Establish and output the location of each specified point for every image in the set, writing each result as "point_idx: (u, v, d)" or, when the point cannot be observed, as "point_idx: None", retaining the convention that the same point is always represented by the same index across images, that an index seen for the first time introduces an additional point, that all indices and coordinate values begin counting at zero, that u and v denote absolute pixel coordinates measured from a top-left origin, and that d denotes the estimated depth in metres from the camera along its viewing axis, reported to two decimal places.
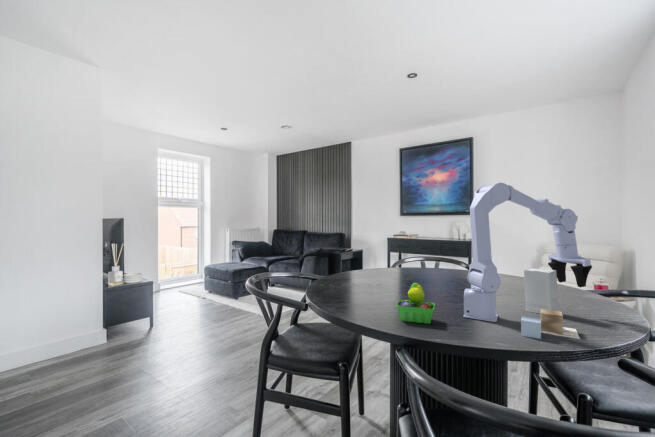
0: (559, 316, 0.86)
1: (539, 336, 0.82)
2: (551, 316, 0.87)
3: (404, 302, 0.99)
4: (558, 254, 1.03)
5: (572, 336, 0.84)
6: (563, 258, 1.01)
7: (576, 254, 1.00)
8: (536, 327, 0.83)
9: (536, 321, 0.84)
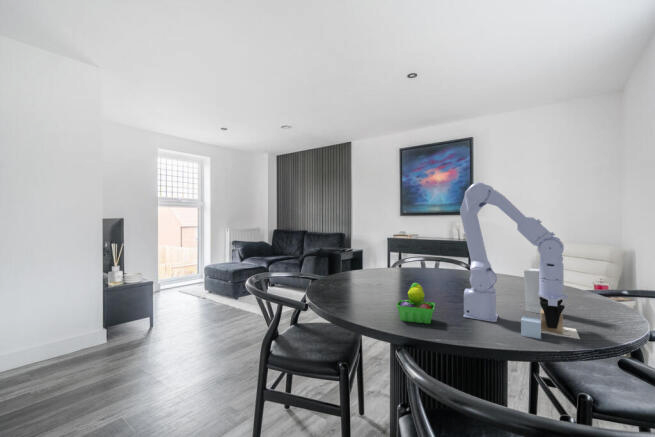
0: None
1: (539, 336, 0.82)
2: None
3: (404, 302, 0.99)
4: (539, 287, 0.91)
5: (572, 336, 0.84)
6: (540, 292, 0.90)
7: (555, 292, 0.87)
8: (536, 327, 0.83)
9: (536, 321, 0.84)
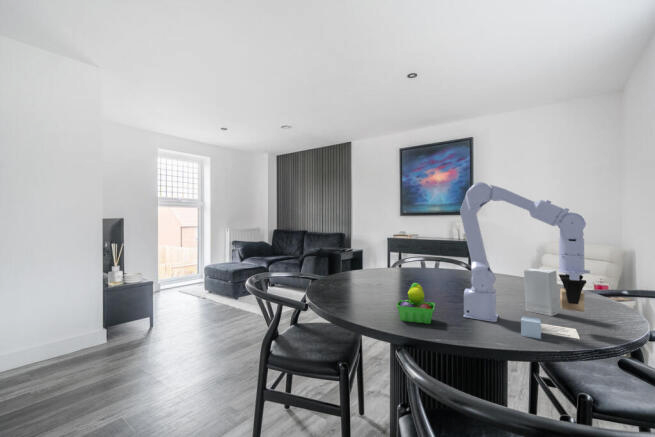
0: None
1: (539, 336, 0.82)
2: None
3: (404, 302, 0.99)
4: (559, 264, 0.90)
5: (572, 336, 0.84)
6: (560, 268, 0.89)
7: (576, 267, 0.86)
8: (536, 327, 0.83)
9: (536, 321, 0.84)
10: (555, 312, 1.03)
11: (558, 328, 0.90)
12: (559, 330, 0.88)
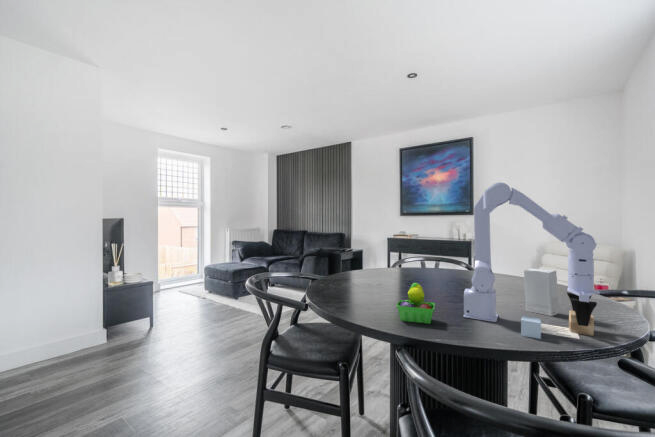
0: (590, 318, 0.85)
1: (539, 336, 0.82)
2: None
3: (404, 302, 0.99)
4: (568, 283, 0.90)
5: (572, 336, 0.84)
6: (569, 288, 0.88)
7: (585, 287, 0.85)
8: (536, 327, 0.83)
9: (536, 321, 0.84)
10: (555, 312, 1.03)
11: (558, 328, 0.90)
12: (559, 330, 0.88)
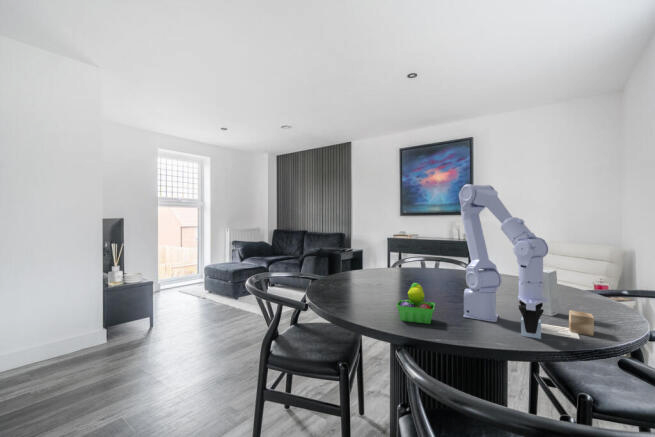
0: (590, 318, 0.85)
1: (539, 336, 0.82)
2: (581, 318, 0.86)
3: (404, 302, 0.99)
4: None
5: (572, 336, 0.84)
6: (519, 296, 0.86)
7: (534, 295, 0.83)
8: None
9: None
10: (555, 312, 1.03)
11: (558, 328, 0.90)
12: (559, 330, 0.88)
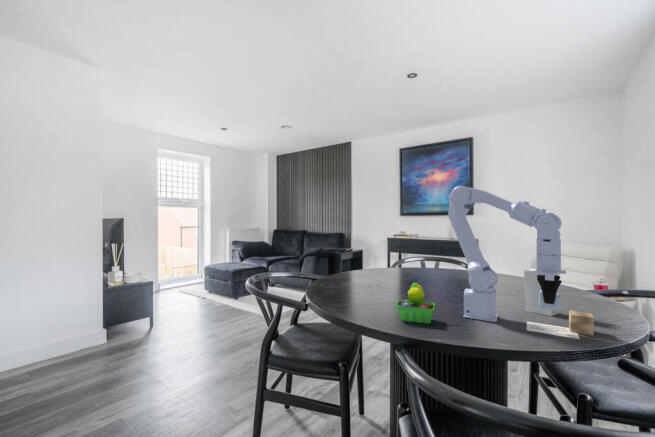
0: (590, 318, 0.85)
1: (558, 307, 0.86)
2: (581, 318, 0.86)
3: (404, 302, 0.99)
4: None
5: (572, 336, 0.84)
6: (537, 269, 0.89)
7: (552, 267, 0.86)
8: (555, 299, 0.86)
9: None
10: (555, 312, 1.03)
11: (558, 328, 0.90)
12: (559, 330, 0.88)
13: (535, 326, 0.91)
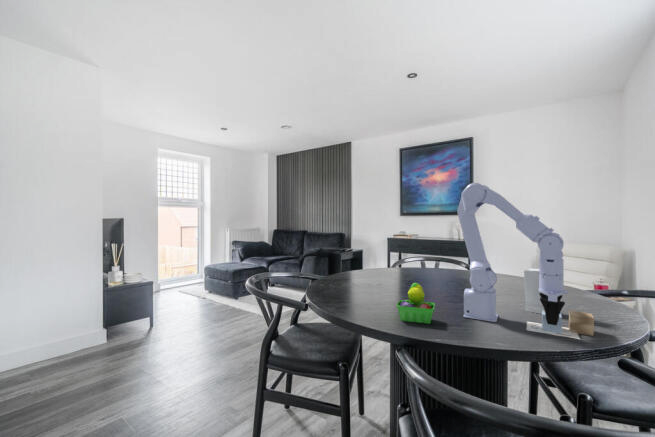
0: (590, 318, 0.85)
1: (560, 330, 0.86)
2: (581, 318, 0.86)
3: (404, 302, 0.99)
4: None
5: (572, 336, 0.84)
6: (540, 288, 0.90)
7: (555, 287, 0.87)
8: None
9: None
10: None
11: None
12: None
13: (535, 326, 0.91)
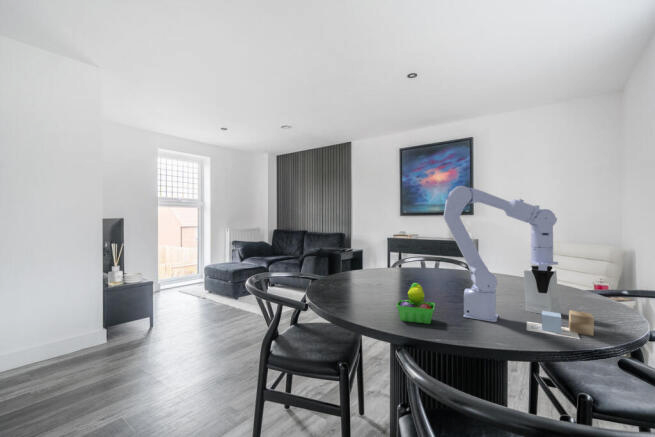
0: (590, 318, 0.85)
1: (560, 330, 0.86)
2: (581, 318, 0.86)
3: (404, 302, 0.99)
4: (531, 256, 0.98)
5: (572, 336, 0.84)
6: (532, 260, 0.97)
7: (545, 258, 0.94)
8: (557, 321, 0.87)
9: (556, 315, 0.88)
10: (555, 312, 1.03)
11: None
12: None
13: (535, 326, 0.91)
